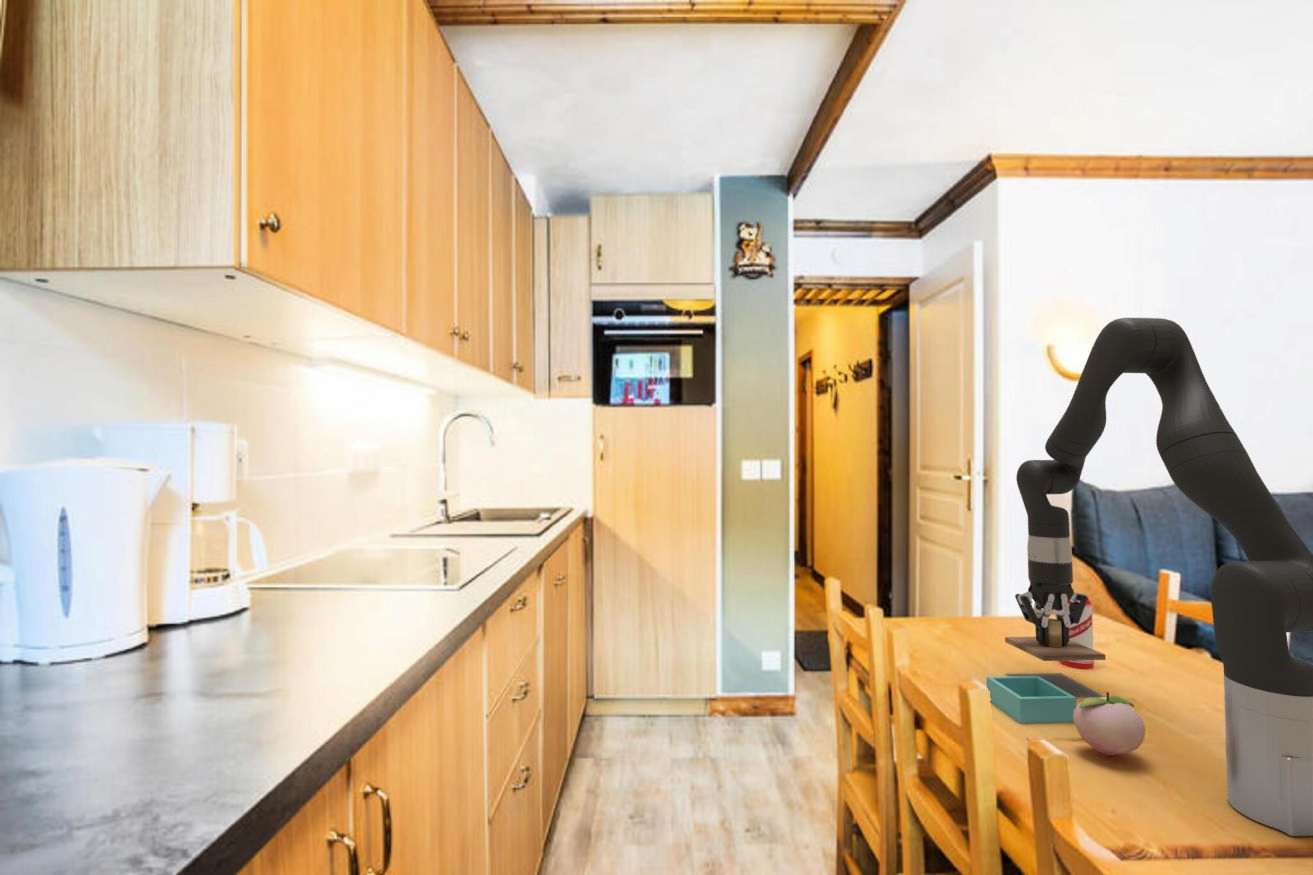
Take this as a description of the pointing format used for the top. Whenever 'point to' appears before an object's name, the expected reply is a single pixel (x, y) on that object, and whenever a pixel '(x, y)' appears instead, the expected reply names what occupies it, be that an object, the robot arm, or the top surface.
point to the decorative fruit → (1109, 724)
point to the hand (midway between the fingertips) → (1052, 644)
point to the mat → (1065, 684)
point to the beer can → (1082, 636)
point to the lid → (1054, 646)
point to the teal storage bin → (1031, 699)
